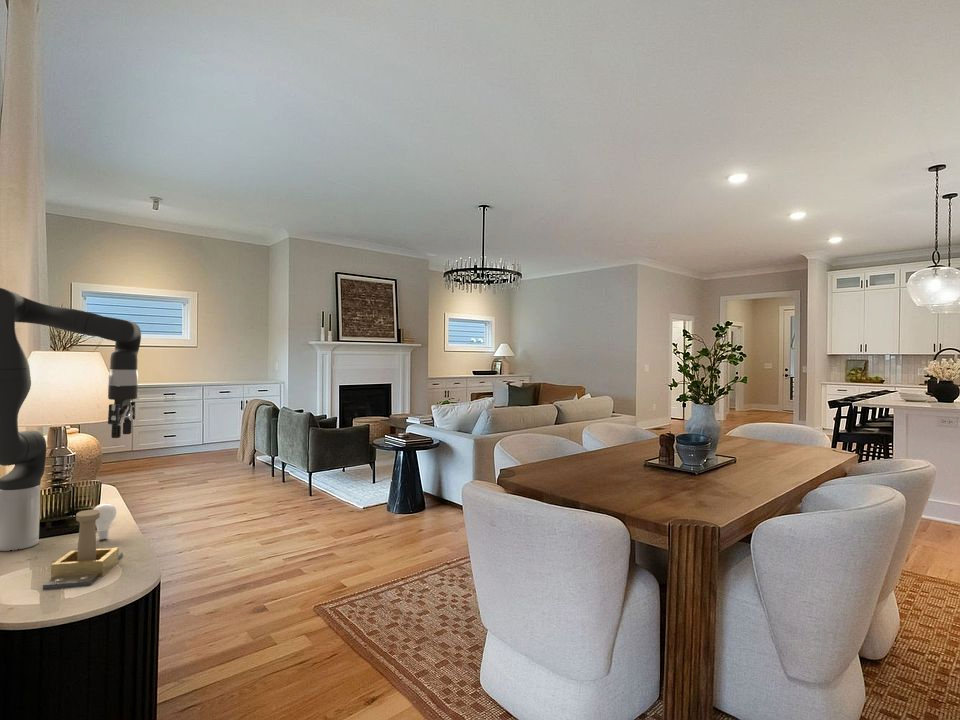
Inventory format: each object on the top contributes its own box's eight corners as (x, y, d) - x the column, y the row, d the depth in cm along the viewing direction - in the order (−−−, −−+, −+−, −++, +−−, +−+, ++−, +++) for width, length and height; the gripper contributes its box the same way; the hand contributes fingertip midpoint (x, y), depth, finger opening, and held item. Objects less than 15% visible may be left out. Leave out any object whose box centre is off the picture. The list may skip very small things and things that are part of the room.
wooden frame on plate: (39, 589, 121) (40, 572, 121) (79, 558, 140) (80, 544, 140) (93, 585, 124) (93, 568, 124) (125, 555, 143) (125, 541, 143)
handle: (73, 577, 128) (75, 517, 128) (74, 569, 133) (76, 511, 134) (97, 573, 131) (99, 514, 131) (97, 565, 136) (99, 508, 136)
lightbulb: (119, 538, 156) (120, 502, 157) (95, 544, 151) (96, 507, 151) (110, 534, 160) (111, 499, 160) (86, 540, 154) (87, 504, 155)
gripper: (118, 383, 166) (117, 433, 165) (99, 384, 152) (97, 439, 152) (145, 383, 168) (143, 432, 167) (128, 385, 154) (126, 439, 154)
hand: (121, 435), depth 160 cm, fingers open, 8 cm apart
